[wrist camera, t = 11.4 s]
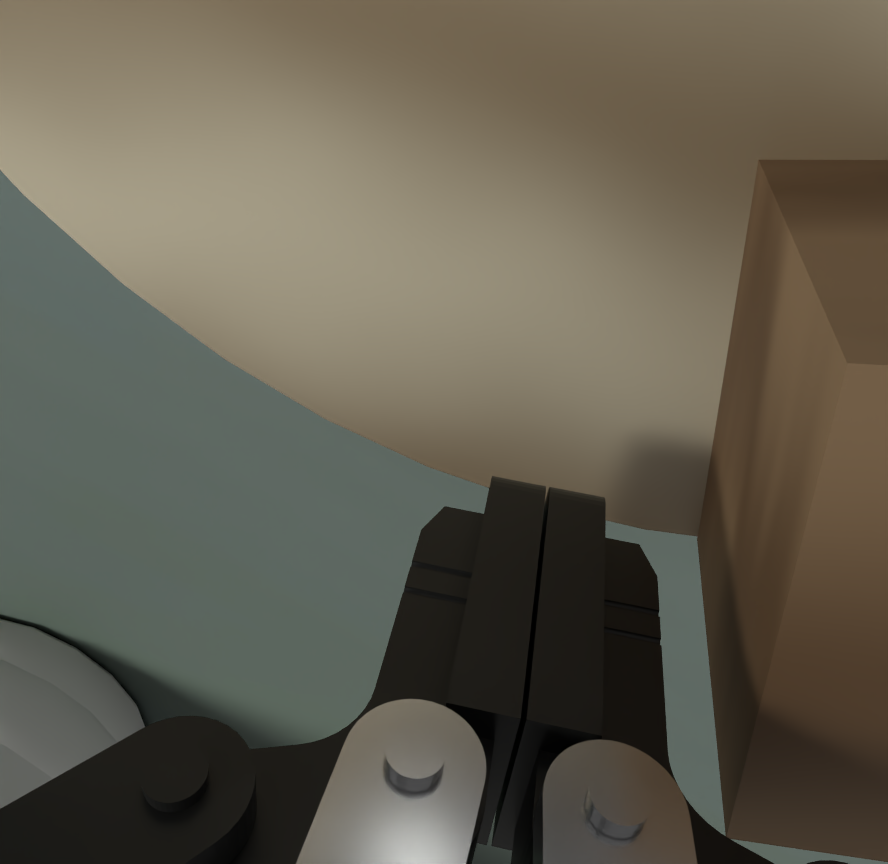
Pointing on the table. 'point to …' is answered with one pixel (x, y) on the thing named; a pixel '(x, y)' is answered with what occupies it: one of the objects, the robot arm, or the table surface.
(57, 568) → the table surface
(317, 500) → the table surface
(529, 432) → the turntable
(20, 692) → the bottle
